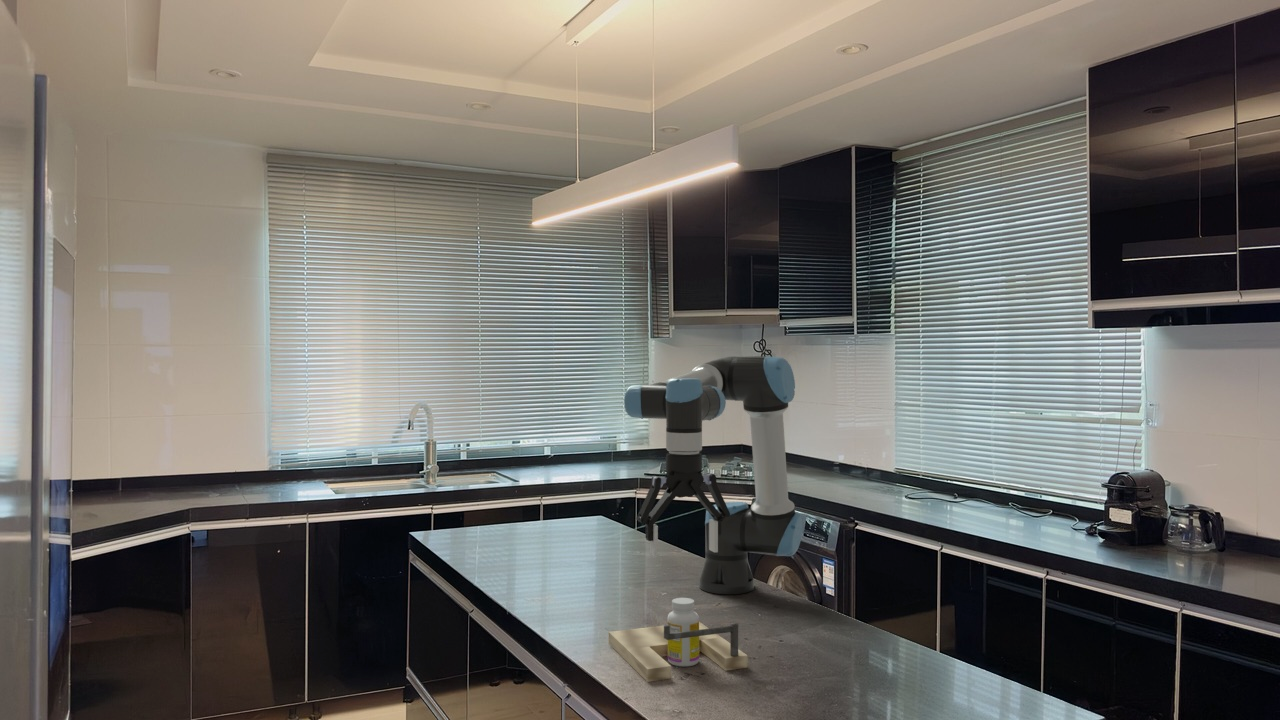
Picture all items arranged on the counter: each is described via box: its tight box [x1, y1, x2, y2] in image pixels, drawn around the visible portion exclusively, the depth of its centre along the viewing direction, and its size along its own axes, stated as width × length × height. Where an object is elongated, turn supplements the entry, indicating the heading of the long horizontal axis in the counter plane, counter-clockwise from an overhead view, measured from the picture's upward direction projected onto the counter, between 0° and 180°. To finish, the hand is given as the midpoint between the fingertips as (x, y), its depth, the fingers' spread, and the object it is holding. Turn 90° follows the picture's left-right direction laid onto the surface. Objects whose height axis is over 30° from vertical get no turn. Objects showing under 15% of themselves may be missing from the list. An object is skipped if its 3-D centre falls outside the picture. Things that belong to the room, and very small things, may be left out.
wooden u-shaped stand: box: [608, 621, 749, 683], centre depth 182 cm, size 22×24×10 cm
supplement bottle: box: [666, 597, 700, 668], centre depth 178 cm, size 7×7×13 cm
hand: (683, 553), depth 178 cm, fingers open, 13 cm apart
